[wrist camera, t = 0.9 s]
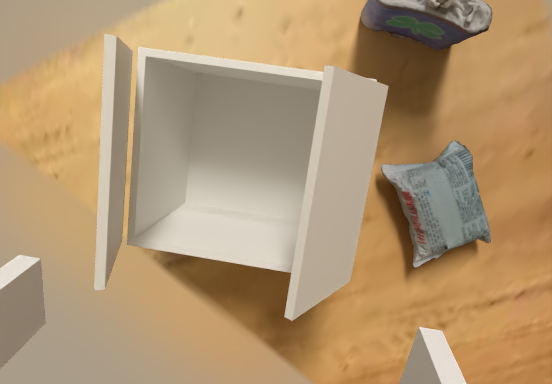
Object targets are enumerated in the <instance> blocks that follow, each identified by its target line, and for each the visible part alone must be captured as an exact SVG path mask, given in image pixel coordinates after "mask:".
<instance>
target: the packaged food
mask: <svg viewBox="0 0 552 384" xmlns="http://www.w3.org/2000/svg"><path fill="white" fill-rule="evenodd" d="M381 171H382V174H383V175H384V176H385V177H386V178H387V179H388V181H389V182H390V183H391V184H392V185H393V186H394V187H395V188H396V191H397V194H398V198H399V201H400V204H401V207H402V210H403V212H404V215H405V216H406V218H407V220H408V221H409V223H410V226H409V234H410V237H411V241H412V244H413V251H414V255H413V266H414V267H418V266H420V265H421V264H423V263H424V262H427V261H429V260H430V259H432V258H434V257H435V258H439V257H440V256H441V255H442V254H443V253H445V252H446V251H448V250H450V249H453V248H455V247H458V246H463V245H465V244H468V243H470V242H472V241H474V240H477V239H479V240H482V241H484V242H486V243H490V242H491V238H490V230H489V225H488V221H487V217H486V214H485V211H484V208H483V204H482V201H481V198H480V195H479V189H478V186H477V182H476V179H475V177H474V173H473V162H472V155H471V153H470V152H469V150H468V149H467V148H466V147H465V146H464V145H461V144H460V143H459V142H458V141H456V140H455V141H452V142H451V143H449V144H448V146H447V148H446V149H445V151H444V152H443V153H442V154H441V155H440V156H439V157H438V158H437V159H435V160H434V161H432V162H431V163H421V164H398V165H392V164H388V165H387V164H382V165H381ZM436 255H437V256H436Z"/></svg>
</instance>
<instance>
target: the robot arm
mask: <svg viewBox="0 0 552 384" xmlns="http://www.w3.org/2000/svg"><path fill="white" fill-rule="evenodd" d="M44 324H45V309H44V297H43V282H42V268H41V259H39V258H34V257H28V256H22V255H19V256H17V257H16V258H14V259H13V260H12V261H10V262H8V263H7V264H6V265H4V266H3V267H1V268H0V369H1V368H2V367H3V366H4V365H5V364H6V363H7V362H8V360H10V359H11V358H12V357H13V356H14V355H15V354H16V352H18V351H19V350H20V349H21V348H22V347H23V346H24V344H26V342H28V340H29V339H30V338H31V337H32V336H33V335H34V334H35V333H36V332H37V331H38V330H39V329H40V328H41V327H42V326H43V325H44ZM399 384H467V383H466V381H465V379H464V377H463V375H462V373H461V371H460V369H459V366H458V364H457V362H456V360H455V358H454V356H453V354H452V352H451V349H450V347H449V345H448V343H447V341H446V339H445V337H444V334H443V332H442V331H440V330H434V329H429V328H423V327H419V328H418V331H417V334H416V337H415V340H414V343H413V346H412V349H411V351H410V354H409V357H408V360H407V363H406V366H405V369H404V372H403V375H402V378H401V380H400V383H399Z"/></svg>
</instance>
